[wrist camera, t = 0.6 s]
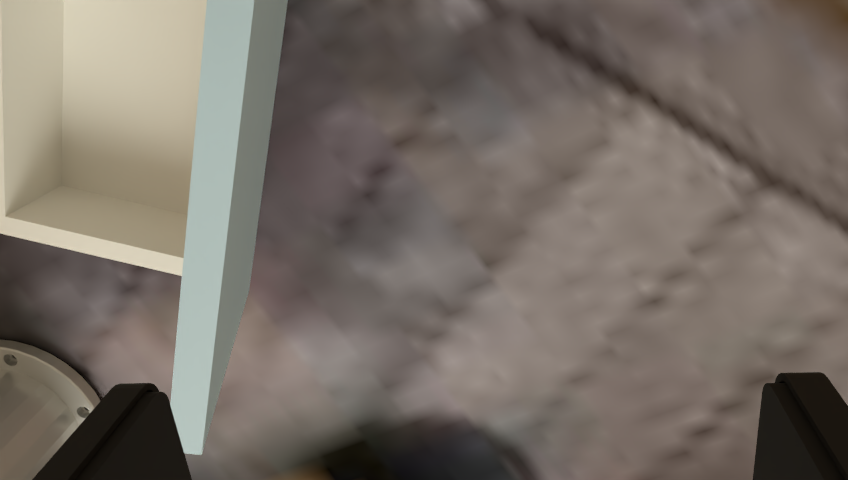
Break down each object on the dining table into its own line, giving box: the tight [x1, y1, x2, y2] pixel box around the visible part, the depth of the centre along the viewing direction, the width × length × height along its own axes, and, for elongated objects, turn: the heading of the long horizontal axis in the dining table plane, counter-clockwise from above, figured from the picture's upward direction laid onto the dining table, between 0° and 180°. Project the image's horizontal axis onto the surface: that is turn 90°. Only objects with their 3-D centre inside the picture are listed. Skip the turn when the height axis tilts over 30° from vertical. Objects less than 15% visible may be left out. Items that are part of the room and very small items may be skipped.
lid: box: [170, 0, 288, 455], centre depth 26 cm, size 20×12×1 cm
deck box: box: [0, 0, 207, 276], centre depth 34 cm, size 20×13×6 cm, turn 168°
